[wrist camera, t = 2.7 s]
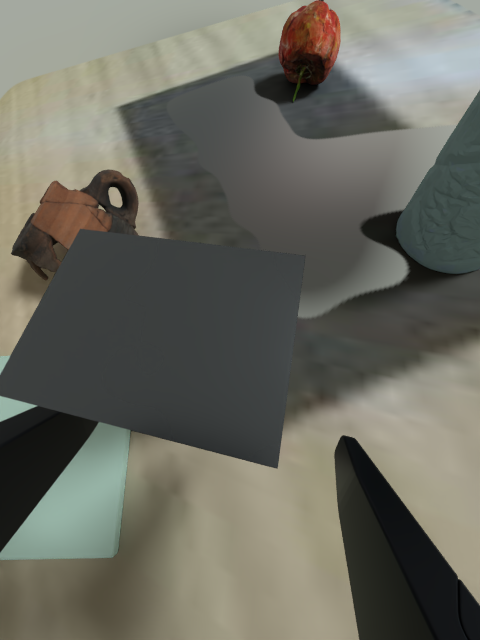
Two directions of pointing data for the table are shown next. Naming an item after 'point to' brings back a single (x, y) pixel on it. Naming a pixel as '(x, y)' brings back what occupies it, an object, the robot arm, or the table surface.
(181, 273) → the square pillar on disc
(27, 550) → the rest mat
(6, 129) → the table surface
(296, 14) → the red ribbed fruit
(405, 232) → the green cup
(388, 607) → the robot arm
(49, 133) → the table surface
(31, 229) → the pottery mug
